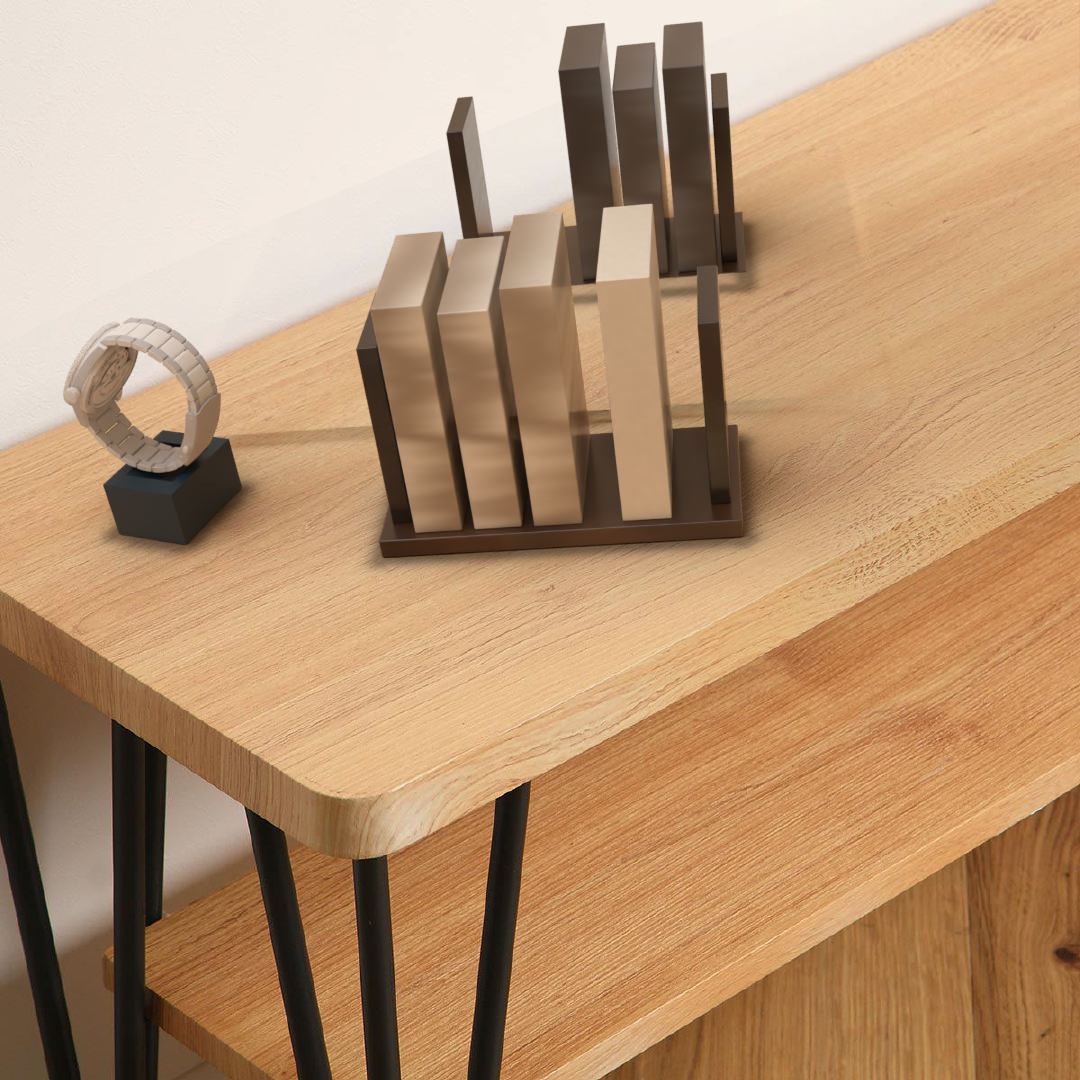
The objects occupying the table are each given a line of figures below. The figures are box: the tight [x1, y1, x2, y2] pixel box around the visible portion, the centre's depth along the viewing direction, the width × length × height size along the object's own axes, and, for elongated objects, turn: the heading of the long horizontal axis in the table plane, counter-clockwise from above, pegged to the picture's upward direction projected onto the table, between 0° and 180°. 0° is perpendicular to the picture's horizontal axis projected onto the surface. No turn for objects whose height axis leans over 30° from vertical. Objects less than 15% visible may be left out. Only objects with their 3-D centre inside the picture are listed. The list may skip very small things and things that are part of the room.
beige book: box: [595, 204, 674, 521], centre depth 79 cm, size 2×8×13 cm, turn 176°
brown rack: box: [355, 210, 744, 558], centre depth 80 cm, size 18×9×14 cm, turn 86°
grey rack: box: [445, 21, 747, 287], centre depth 101 cm, size 18×9×14 cm, turn 86°
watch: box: [62, 317, 243, 545], centre depth 84 cm, size 6×8×11 cm
